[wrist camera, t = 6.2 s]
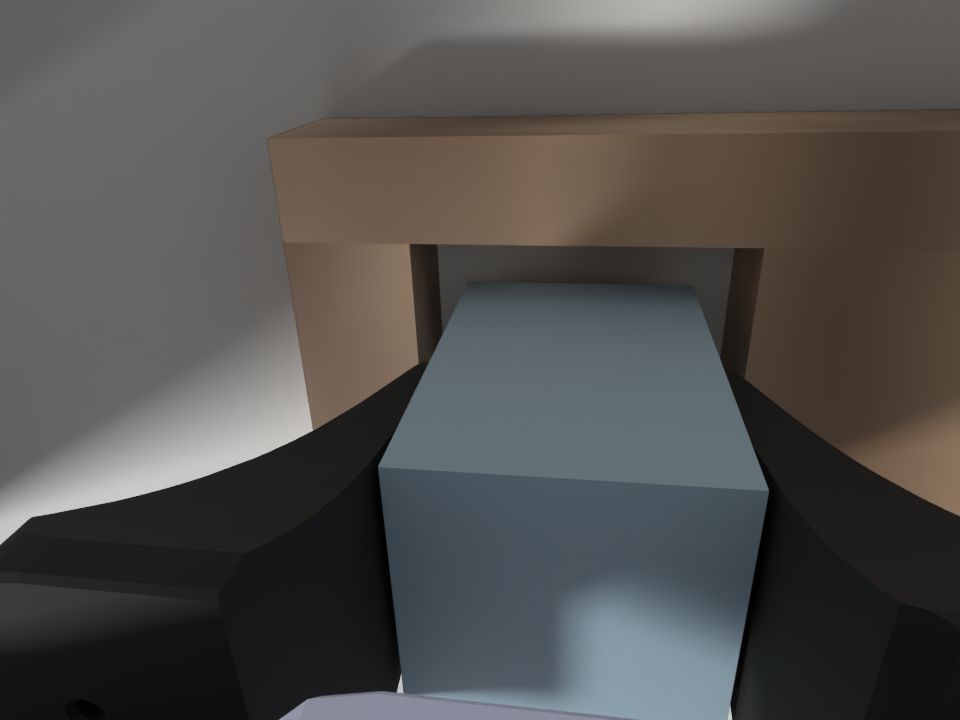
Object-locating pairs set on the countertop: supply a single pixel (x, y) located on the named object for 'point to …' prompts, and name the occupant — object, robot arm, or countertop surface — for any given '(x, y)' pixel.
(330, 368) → the brown wooden flat block
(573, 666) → the peg
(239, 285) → the countertop surface
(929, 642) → the robot arm
